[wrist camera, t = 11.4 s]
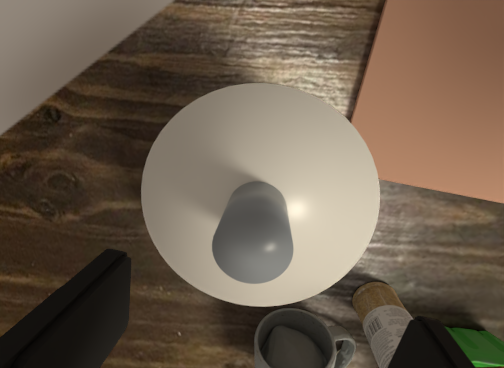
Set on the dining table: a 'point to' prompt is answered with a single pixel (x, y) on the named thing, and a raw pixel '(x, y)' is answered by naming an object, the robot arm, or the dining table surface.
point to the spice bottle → (381, 319)
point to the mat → (437, 96)
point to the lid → (260, 194)
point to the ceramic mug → (300, 341)
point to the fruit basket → (480, 347)
